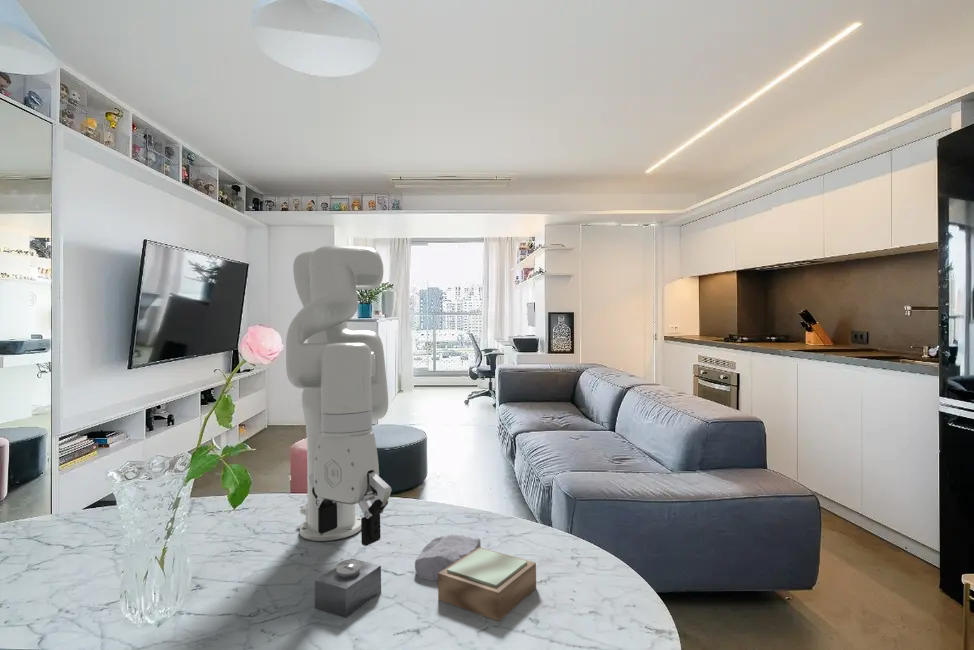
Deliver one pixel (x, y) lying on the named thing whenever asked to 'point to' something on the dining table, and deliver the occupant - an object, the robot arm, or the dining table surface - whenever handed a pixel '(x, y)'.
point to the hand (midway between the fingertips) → (348, 536)
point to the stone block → (443, 554)
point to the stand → (487, 582)
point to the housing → (347, 587)
